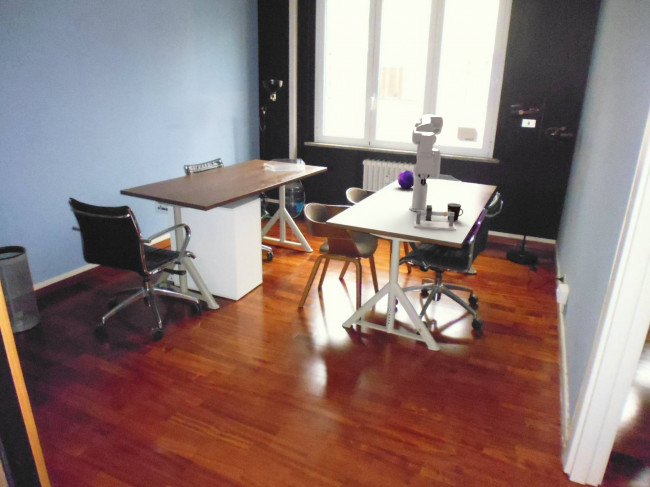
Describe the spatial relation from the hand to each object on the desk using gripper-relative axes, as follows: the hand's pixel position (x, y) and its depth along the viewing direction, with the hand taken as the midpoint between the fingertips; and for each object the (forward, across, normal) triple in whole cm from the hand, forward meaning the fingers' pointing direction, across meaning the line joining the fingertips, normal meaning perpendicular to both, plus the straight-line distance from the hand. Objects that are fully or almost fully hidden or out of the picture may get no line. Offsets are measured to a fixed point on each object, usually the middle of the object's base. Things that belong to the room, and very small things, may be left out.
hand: (423, 185), depth 290 cm
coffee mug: (+25, -22, -16) cm, 37 cm away
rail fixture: (+25, -9, 0) cm, 27 cm away
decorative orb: (+25, +9, -107) cm, 110 cm away
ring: (+21, -5, 0) cm, 22 cm away
